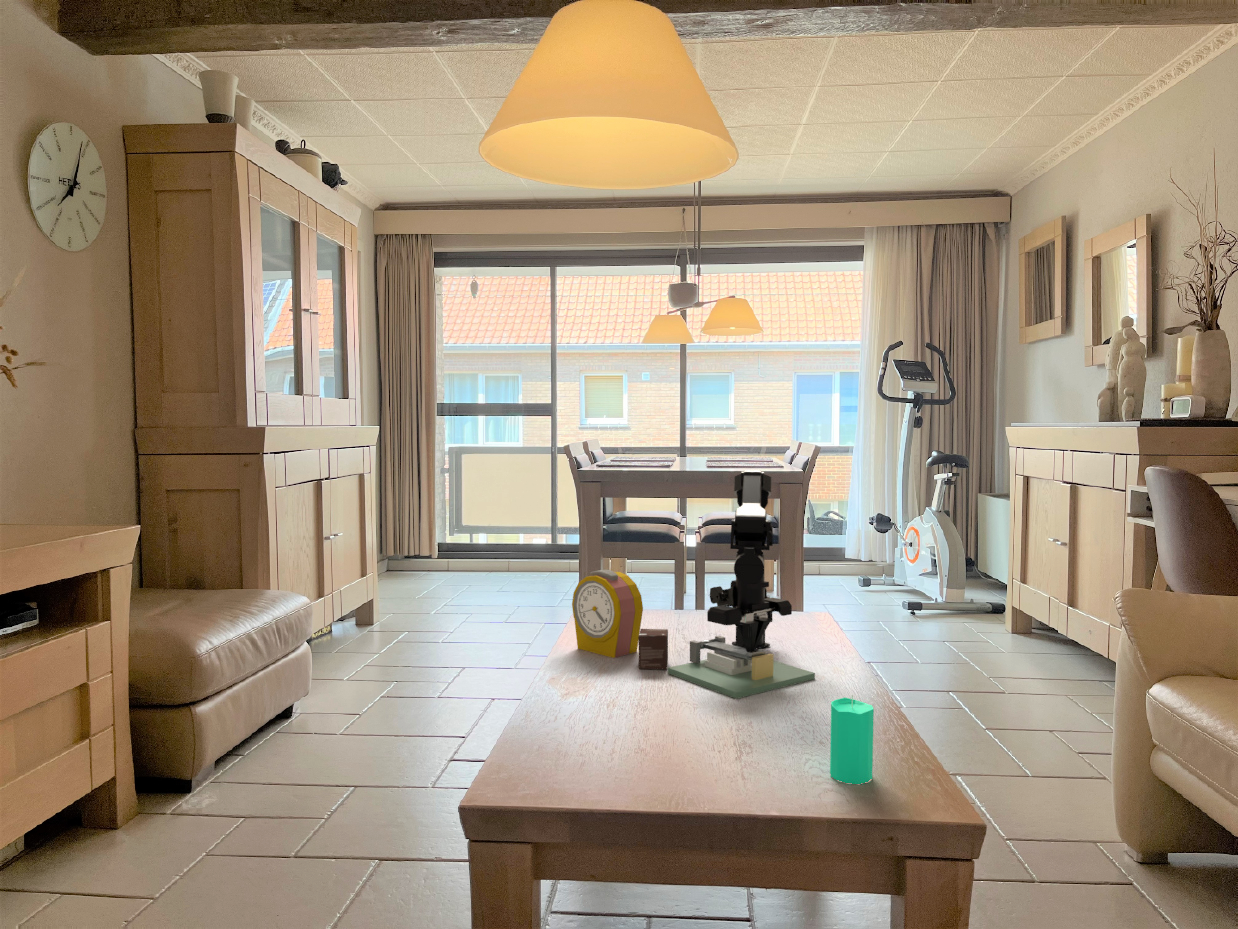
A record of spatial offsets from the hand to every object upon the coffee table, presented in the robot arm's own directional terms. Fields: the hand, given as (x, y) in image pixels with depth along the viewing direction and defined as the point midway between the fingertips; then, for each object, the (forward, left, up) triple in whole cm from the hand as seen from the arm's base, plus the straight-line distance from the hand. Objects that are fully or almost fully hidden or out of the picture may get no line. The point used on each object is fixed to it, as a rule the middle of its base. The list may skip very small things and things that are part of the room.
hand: (750, 653), depth 168 cm
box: (+10, -19, -6) cm, 22 cm away
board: (0, -3, -5) cm, 6 cm away
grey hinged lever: (0, -6, -1) cm, 6 cm away
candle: (+22, +42, -5) cm, 48 cm away
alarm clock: (+11, -35, -6) cm, 37 cm away
